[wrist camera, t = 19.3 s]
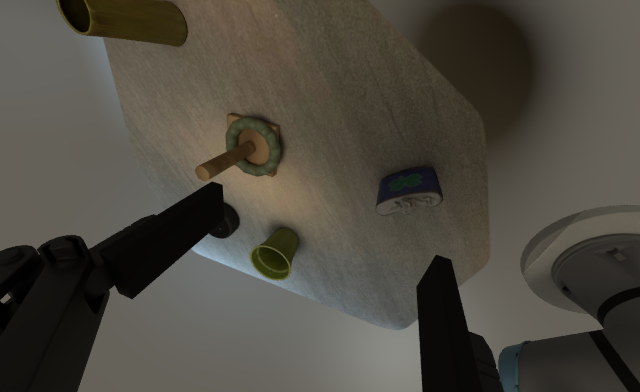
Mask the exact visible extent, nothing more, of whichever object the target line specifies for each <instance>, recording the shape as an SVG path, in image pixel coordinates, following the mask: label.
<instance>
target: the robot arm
mask: <svg viewBox="0 0 640 392" xmlns="http://www.w3.org/2000/svg"><path fill="white" fill-rule="evenodd" d="M224 219H225V214H224V200H223V185H221V184H218V183H215V182H210V183H209V184H207V185H205V186H204V187H202V188H201V189H199V190H197V191H196V192H194V193H192V194H191V195H189V196H187V197H186V198H184V199H183V200H181V201H179V202H178V203H176V204H174V205H173V206H171V207H170V208H168V209H166V210H165V211H163V212H161V213H160V214H158V215H154V214H153V215H150V216H147V217H144V218H141V219H140V220H138V221H136V222H134V223H133V224H131V226H128V227H126V228H124V229H123V230H122V231H119V232H118V233H116V234H114V235H112V236H111V237H109V238H107V239H106V240H104V241H102V242H101V243H99V244H97V245H95V246H94V247H92V248H90V249H88V248H87V246H86V244H85V242H84V240H83V239H82V238H81V237H80V236H76V235H67V236H61V237H58V238H55V239H52V240H49V241H48V242H46V243H44V244H42V245H41V246H40V247H39V248H38V249H37V251H38V252H39V253H40V255H39V254H38V252H37V251H36V249H35V248H33V247H32V246H28V245H22V246H15V247H11V248H7V249H5V250H2V251H0V300H1V299H2V298H3V297H4V296H5V295H6V294H7V293H8V295H9V296H10V297H11V298H10V299H9V300H8V301H6V302H5V303H4V304H3V303H1V301H0V392H77V391H78V388H79V385H80V382H81V379H82V376H83V373H84V370H85V367H86V364H87V361H88V358H89V355H90V352H91V349H92V346H93V343H94V340H95V337H96V334H97V331H98V329H99V326H100V323H101V319H102V317H103V314H104V311H105V308H106V305H107V302H108V299H109V295H110V291H109V289H110V288H112V287H113V286H114V285H115V286H116V288H117V290H118V292H119V293H120V294H122V295H124V296H126V297H129V298H130V299H133V298H134V297H135V296H137V294H139V293H140V292H141V291H142V290H144V289H145V288H146V287H147V286H148V285H149V284H150V283H152V282H153V281H154V280H155V279H156V278H157V277H159V276H160V275H161V274H162V273H163V272H164V271H165V270H167V269H168V268H169V267H170V266H171V265H172V264H174V263H175V262H176V261H177V260H178V259H179V258H180V257H182V256H183V255H184V254H185V253H186V252H187V251H188V250H189V249H191V248H192V247H193V246H194V245H195V244H197V243H198V242H199V241H200V240H201V239H202V238H204V237H205V236H206V235H207V234H208V233H209V232H210V231H212V230H213V229H214V228H215V227H216V226H217V225H219V224H220V223H221V222H222V221H223V220H224ZM551 275H552V279H553V281H554V282H555V284H556V285H557V287H558V288H559V290H560V291H561V292H562V294H563V295H565V296H566V297H567V298H568V299H570V300H571V301H572V302H574V303H575V304H576V305H578V306H579V307H580V308H582V309H583V310H584V311H586V312H587V313H588V314H590V315H591V316H593V317H594V318H595V319H597V320H598V322H599V323H600V324H601V325H602V327H603V328H604V329H602V330H597V331H591V332H584V333H578V334H572V335H566V336H560V337H555V338H548V339H542V340H537V341H524V342H523V343H521V344H517V345H513V346H508V347H506V348H504V349H503V350H502V352H501V353H500V355H499V360H498V368H499V373H498V370H497V369H496V363H495V360H494V357H493V354H492V351H491V349H490V348H489V346H488V344H487V343H486V341H485V340H484V338H483V337H482V336H480V335H477V334H475V333H472V332H469V331H468V327H467V323H466V319H465V315H464V311H463V307H462V303H461V299H460V294H459V290H458V286H457V282H456V278H455V274H454V270H453V266H452V262H451V259H448V258H445V257H442V256H439V255H436V256H435V257H434V259H433V261H432V262H431V264H430V266H429V267H428V269H427V271H426V272H425V274H424V275H423V277H422V279H421V280H420V282H419V284H418V285H417V287H416V288H417V305H418V322H419V337H420V338H419V339H420V355H421V374H422V391H423V392H640V234H630V233H619V234H608V235H602V236H597V237H593V238H590V239H587V240H584V241H581V242H579V243H577V244H575V245H573V246H571V247H569V248H568V249H566V250H565V251H564V252H562V253H561V254H560V255H559V256H558V257H557V259H556V260H555V262H554V263H553V266H552V269H551Z"/></svg>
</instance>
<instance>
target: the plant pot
mask: <svg viewBox="0 0 640 392" xmlns="http://www.w3.org/2000/svg"><path fill="white" fill-rule="evenodd" d="M298 244H299V239H298V238H297V237H296V235H295V233H294V232H293V231H291V230H289V229H286V228H282V229H279V230H277V231H276V232H275V233H274V234H273V235H272V236H271V237H269V238H268V239H267V240H266V241H265V242H264V243H262V244H260V245H258V246H256V247H254V248H253V249H252V250H251V253H250V260H251V263H252V265H253V266H254V268H255V269H256V270H257V271H258V272H259V273H260V274H262V275H263V276H265V277H266V278H269V279H271V280H277V281H278V280H284V279H286V278H288V277H289V275H290V273H291V263H292V260H293V257H294V255H295V252H296V249H297V247H298Z"/></svg>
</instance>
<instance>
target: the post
mask: <svg viewBox="0 0 640 392" xmlns="http://www.w3.org/2000/svg"><path fill="white" fill-rule="evenodd" d="M243 117H245V116H241V115H237V114H234V113H230V114H227V127H228V128H229V127H230V125H231V123H232V122H233V121H235V120H237V119H240V118H243ZM264 123H265V124H266V125H267V126H268V127H269V128H270V129H272V130H273V131H274V133H275V135H276V137H277V140H278V142H279V130H280V126H278V125H274V124H271V123H267V122H264ZM243 159H245V160H246V161H247V162H248V163H250V164H253V165H256V166H260V165H263V164H265V163H266V162H267V160H268V159H269V147H268V145H267V143H266V140H265V138H263V137H262V136H261V135H260V134H259V133H258V132H257V131H254V130H251V129H245V130H242V131H241V132H240V133H239V135H238V137H237V147H235V148H233V149H231V150H229V151H227V152H225V153H223V154H221V155H219V156H217V157H215V158H213V159H211V160H209V161H207V162H205V163H203V164H201V165H199V166H197V167H196V169H195V172H196V175H197V176H198V178H199V179H201V180H202V181H208V180H209V179H211V178H213V177H214V176H216V175H218V174H219V173H221V172H223V171H224V170H226V169H228V168H229V167H231V166H233V165H235V164H236V163H238V162H239V161H241V160H243ZM236 166H237V165H236ZM276 169H277V167H276V168H275V169H274V170H273V171H272V173H270V174H267V175H268V176H271V177H273V176H275V175H276Z"/></svg>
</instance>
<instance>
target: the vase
mask: <svg viewBox="0 0 640 392" xmlns="http://www.w3.org/2000/svg"><path fill="white" fill-rule="evenodd" d="M56 3H57V6H58V9H59V11H60V13H61V15H62V17H63V18H64V20H65V21H66V23H67V24H68V25H69V26H70V27H71V28H72V29H73V30H74V31H75V32H77V33H79V34H81V35H87V36H99V37H109V38H118V39H126V40H135V41H142V42H150V43H157V44H165V45H172V46H180V45H182V44H183V43H184V41H185V39H186V34H187V29H186V23H185V20H184V17H183V15H182V13H181V12H180V11H179V9H178V8H177V7H176V6H175V5H174V4H172V3H170V2H167V1H158V0H56Z"/></svg>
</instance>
